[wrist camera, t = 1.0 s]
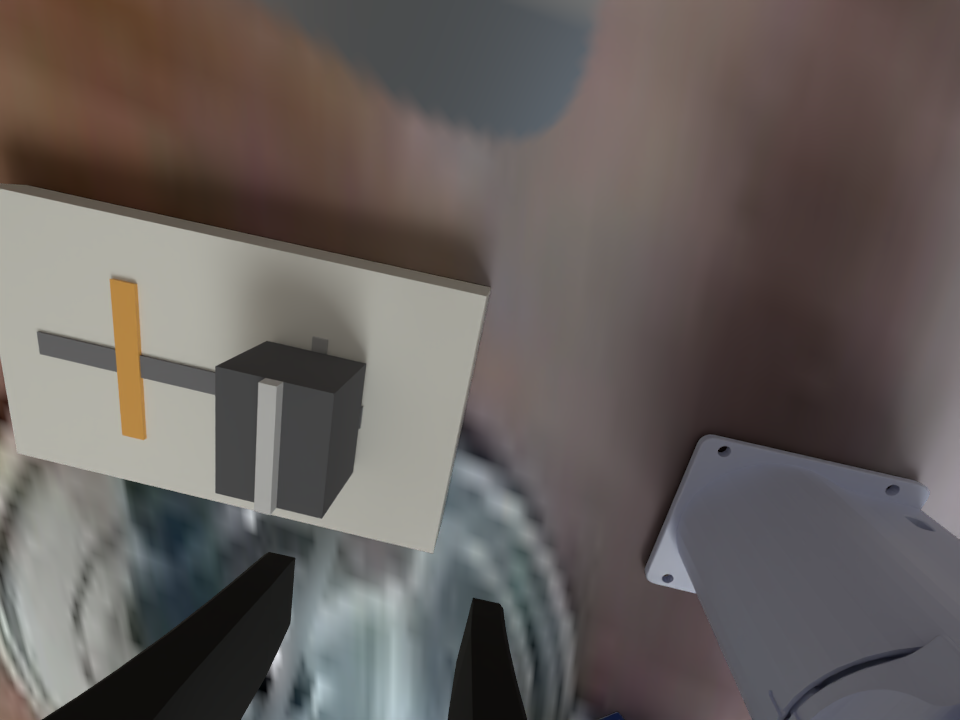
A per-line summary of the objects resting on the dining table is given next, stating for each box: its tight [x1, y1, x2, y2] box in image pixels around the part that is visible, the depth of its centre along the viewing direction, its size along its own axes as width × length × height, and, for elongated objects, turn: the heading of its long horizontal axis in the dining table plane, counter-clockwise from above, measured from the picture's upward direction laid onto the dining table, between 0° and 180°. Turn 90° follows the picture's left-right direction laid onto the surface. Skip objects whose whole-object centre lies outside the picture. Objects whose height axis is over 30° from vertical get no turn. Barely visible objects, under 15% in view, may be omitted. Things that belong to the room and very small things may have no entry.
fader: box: [215, 341, 366, 519], centre depth 16 cm, size 4×5×3 cm
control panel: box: [0, 184, 491, 554], centre depth 19 cm, size 20×12×2 cm, turn 78°
